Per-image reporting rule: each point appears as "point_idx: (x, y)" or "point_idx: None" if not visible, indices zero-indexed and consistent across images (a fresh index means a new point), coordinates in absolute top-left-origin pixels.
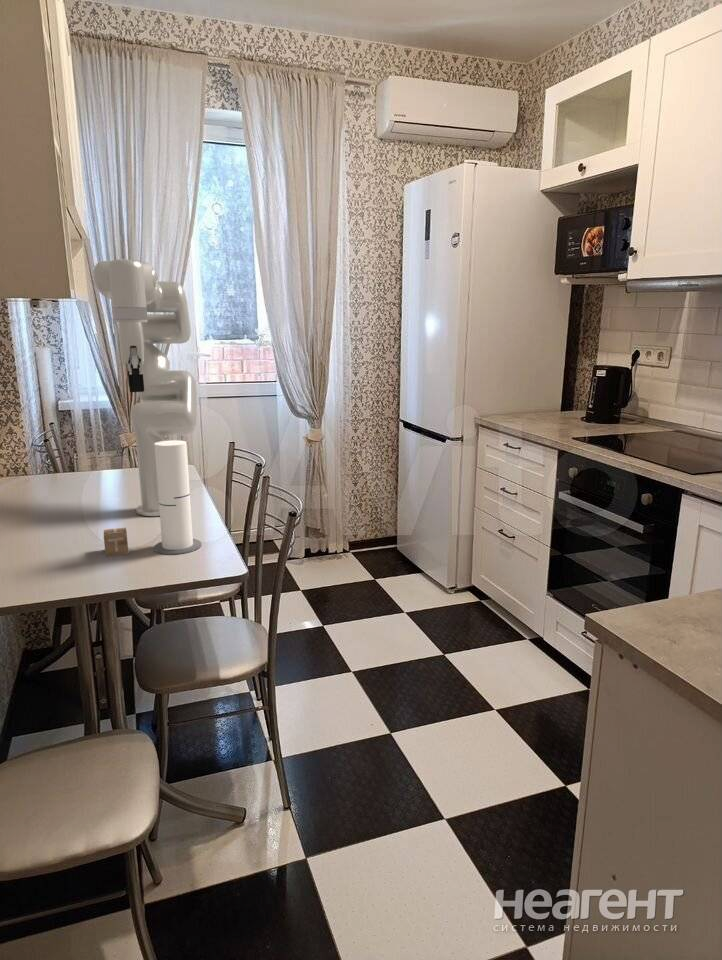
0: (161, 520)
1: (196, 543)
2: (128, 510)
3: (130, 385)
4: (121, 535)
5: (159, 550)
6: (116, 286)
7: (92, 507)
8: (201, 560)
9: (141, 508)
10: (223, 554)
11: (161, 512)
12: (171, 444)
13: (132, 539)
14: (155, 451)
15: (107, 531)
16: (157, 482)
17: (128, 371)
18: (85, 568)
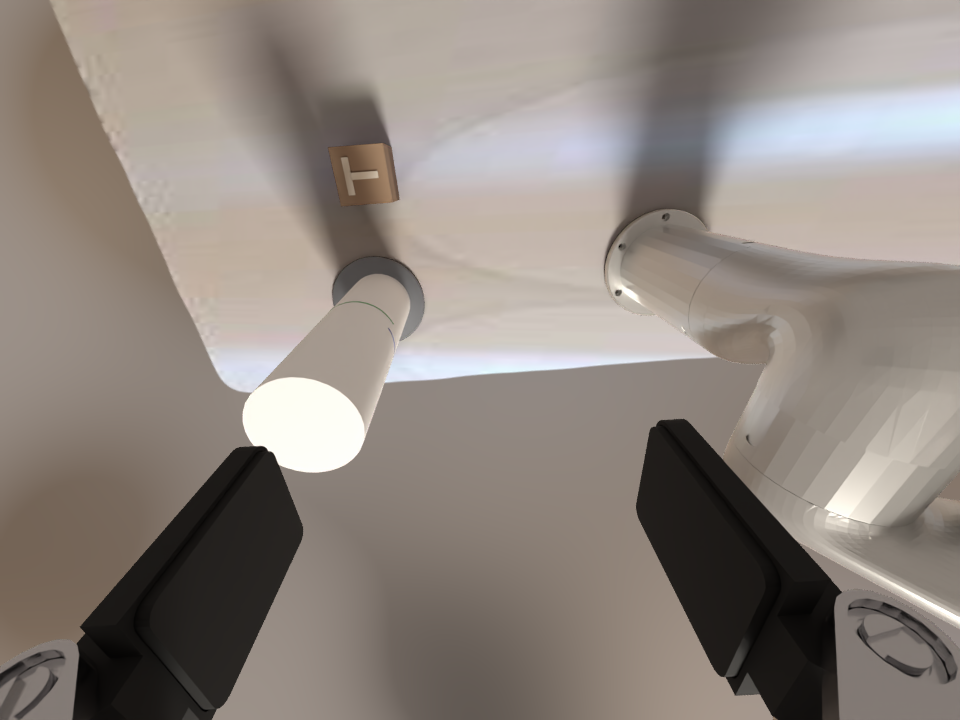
0: (350, 292)
1: None
2: (697, 186)
3: (203, 500)
4: (338, 193)
5: (351, 268)
6: None
7: (786, 73)
8: (296, 340)
9: (665, 223)
10: None
11: (341, 300)
12: (269, 431)
13: (450, 207)
14: (289, 365)
15: (367, 154)
16: (334, 321)
17: (782, 582)
18: (265, 107)
